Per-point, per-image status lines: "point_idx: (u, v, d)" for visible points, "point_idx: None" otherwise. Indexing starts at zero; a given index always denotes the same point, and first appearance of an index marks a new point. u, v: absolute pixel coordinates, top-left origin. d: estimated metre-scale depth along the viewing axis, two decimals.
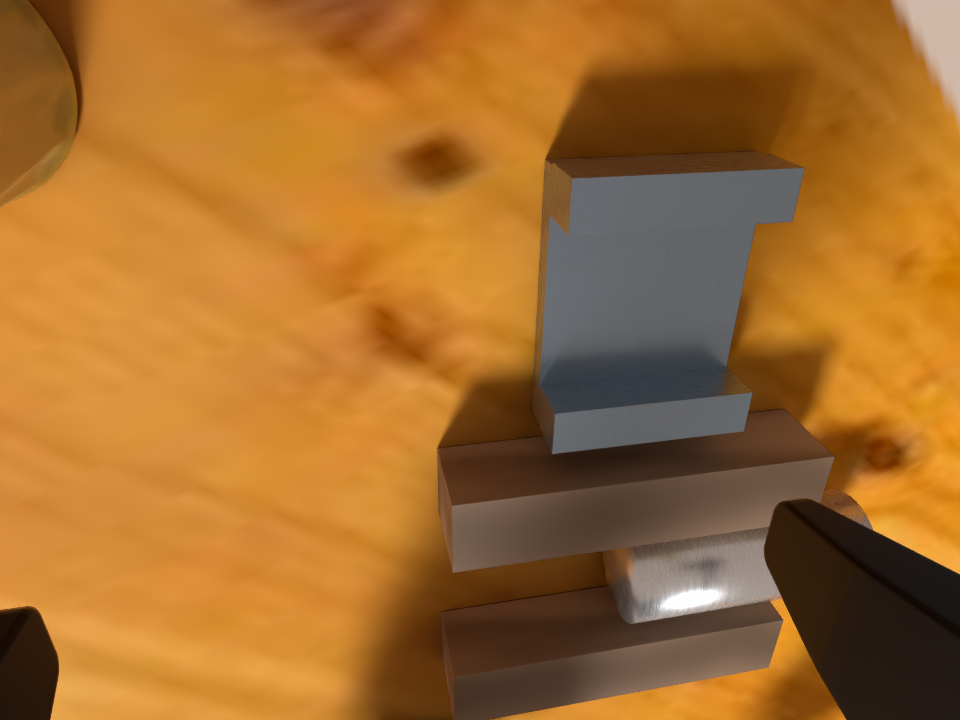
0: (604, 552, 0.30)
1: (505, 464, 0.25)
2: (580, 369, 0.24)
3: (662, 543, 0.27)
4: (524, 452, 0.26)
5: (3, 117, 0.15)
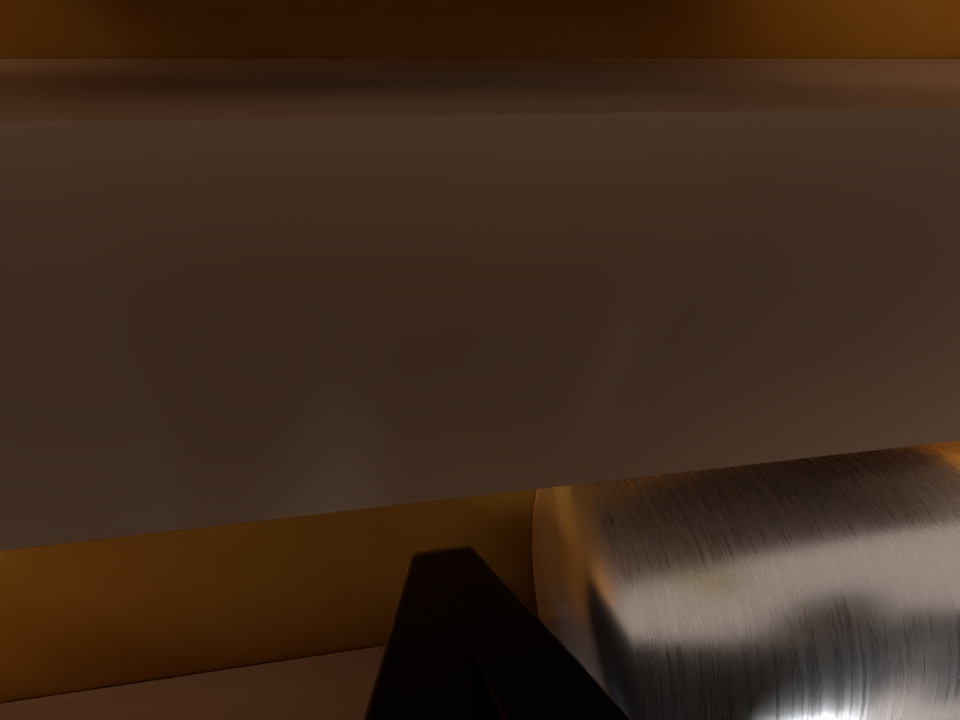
0: (536, 535, 0.10)
1: None
2: None
3: (738, 587, 0.07)
4: None
5: None
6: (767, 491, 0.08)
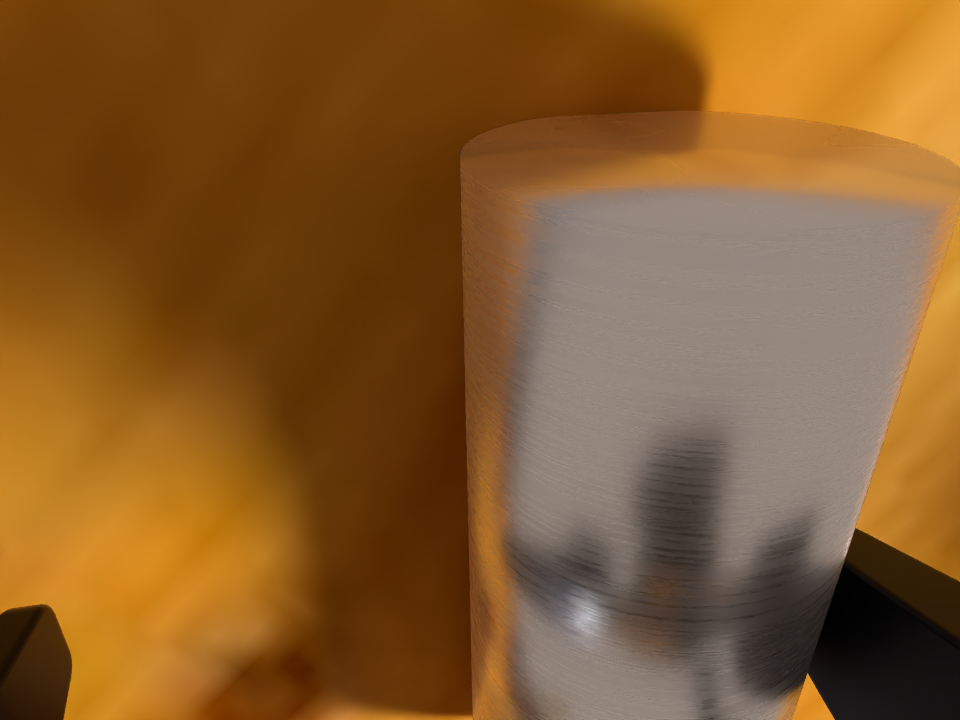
0: None
1: None
2: None
3: None
4: None
5: None
6: None
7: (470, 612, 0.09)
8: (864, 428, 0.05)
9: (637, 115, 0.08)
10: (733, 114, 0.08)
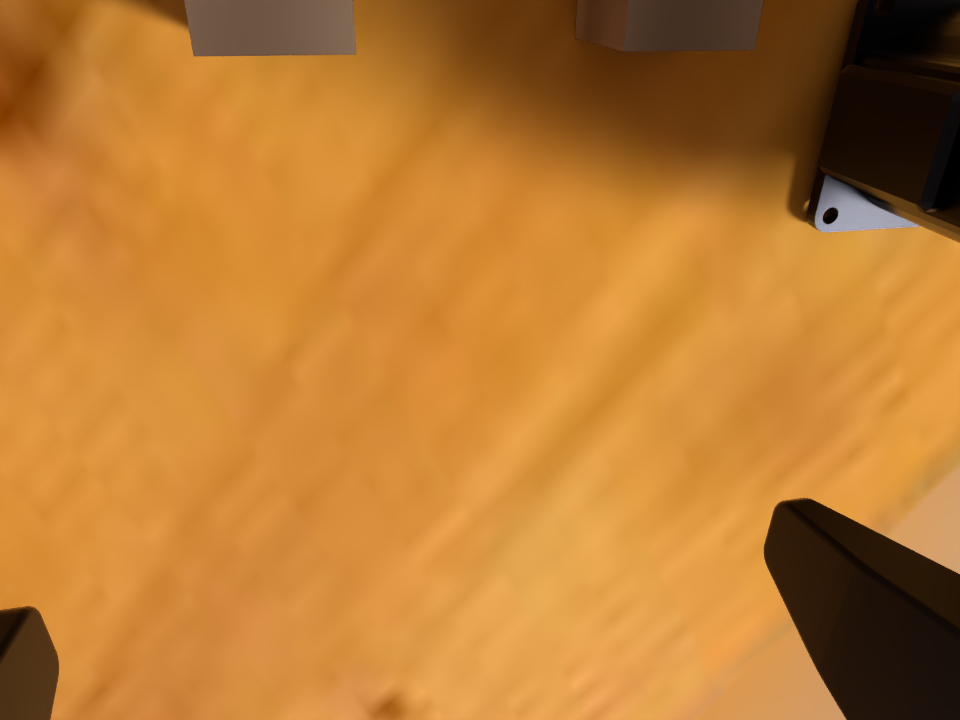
0: None
1: None
2: None
3: None
4: None
5: None
6: None
7: None
8: None
9: None
10: None
